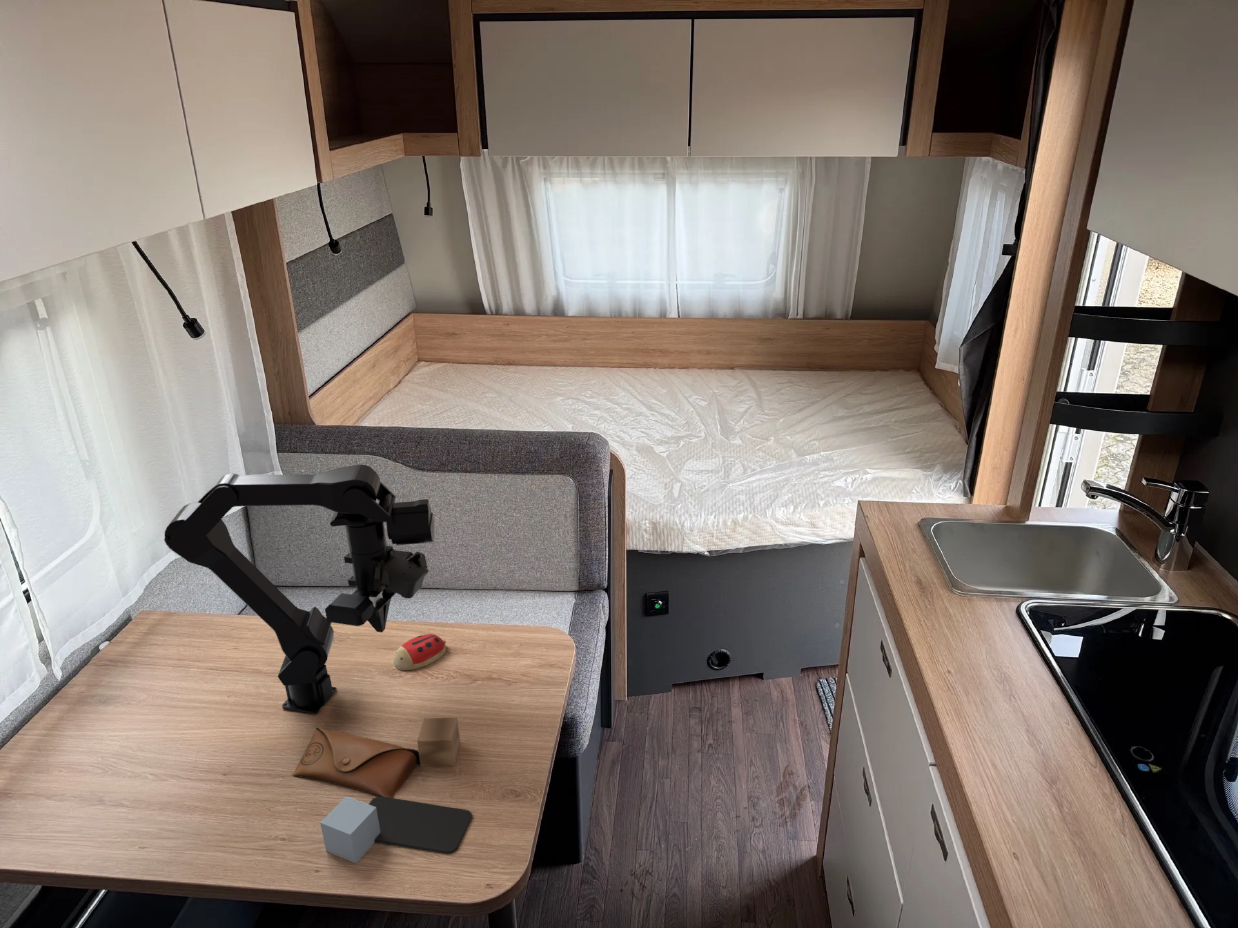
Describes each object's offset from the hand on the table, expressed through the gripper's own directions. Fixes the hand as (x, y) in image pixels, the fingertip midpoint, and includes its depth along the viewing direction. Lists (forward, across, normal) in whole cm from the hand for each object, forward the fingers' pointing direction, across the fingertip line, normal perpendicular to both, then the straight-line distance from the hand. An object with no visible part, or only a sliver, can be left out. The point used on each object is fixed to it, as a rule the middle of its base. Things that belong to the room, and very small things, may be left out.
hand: (380, 630), depth 138 cm
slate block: (+12, -30, -11) cm, 34 cm away
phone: (+13, -25, -17) cm, 33 cm away
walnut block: (+12, -12, -15) cm, 23 cm away
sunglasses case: (+13, -18, -4) cm, 22 cm away
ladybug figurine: (+12, +10, 0) cm, 16 cm away
